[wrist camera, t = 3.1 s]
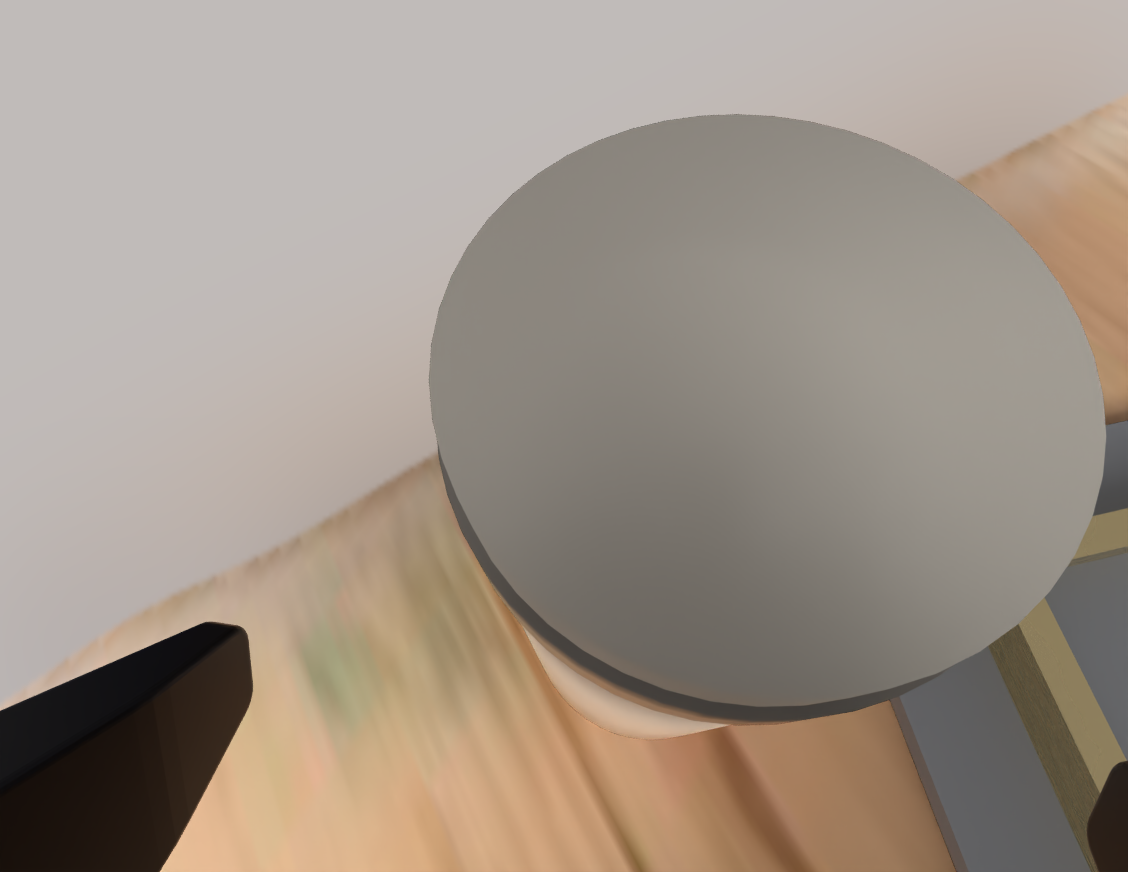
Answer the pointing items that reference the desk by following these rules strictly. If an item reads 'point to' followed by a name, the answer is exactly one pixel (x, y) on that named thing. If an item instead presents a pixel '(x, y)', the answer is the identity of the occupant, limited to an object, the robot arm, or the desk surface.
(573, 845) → the desk surface
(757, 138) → the lidded cream canister
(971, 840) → the collar base
